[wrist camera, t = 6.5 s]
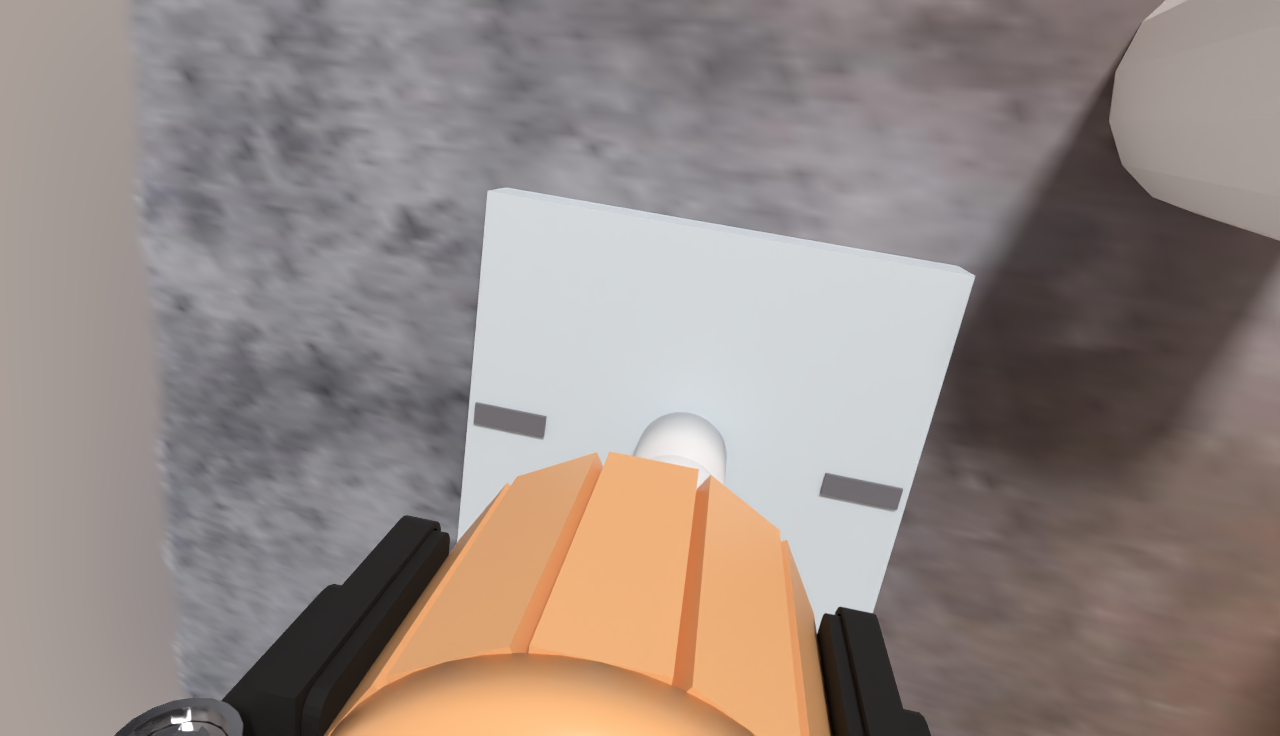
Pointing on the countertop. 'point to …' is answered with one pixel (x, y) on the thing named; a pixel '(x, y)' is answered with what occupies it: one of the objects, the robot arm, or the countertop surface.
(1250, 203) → the white cup
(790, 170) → the countertop surface
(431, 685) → the cap
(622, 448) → the knob base plate
